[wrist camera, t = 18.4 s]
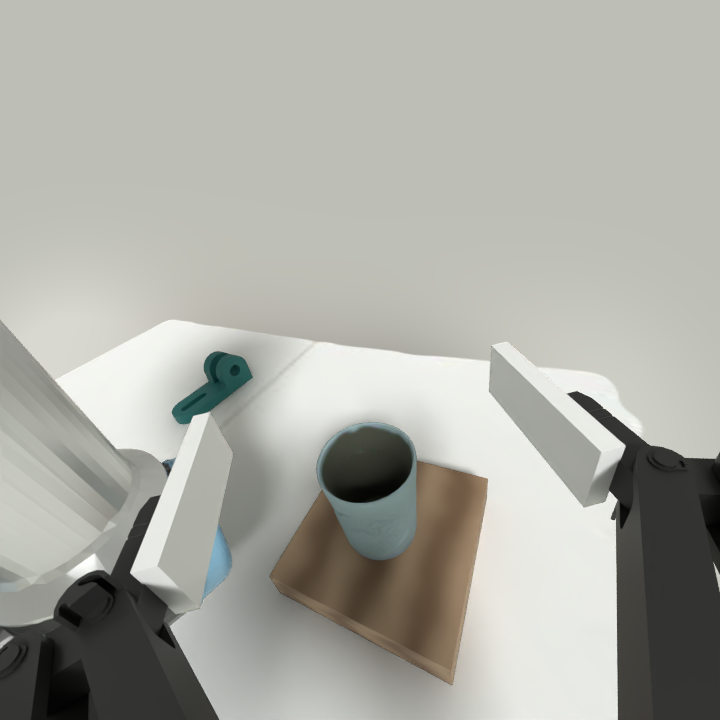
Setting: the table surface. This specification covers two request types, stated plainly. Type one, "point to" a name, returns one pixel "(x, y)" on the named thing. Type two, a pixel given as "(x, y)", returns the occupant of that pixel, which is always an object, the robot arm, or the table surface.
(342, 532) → the walnut riser
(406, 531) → the blue green cup
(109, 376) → the table surface
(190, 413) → the bracket
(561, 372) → the table surface
